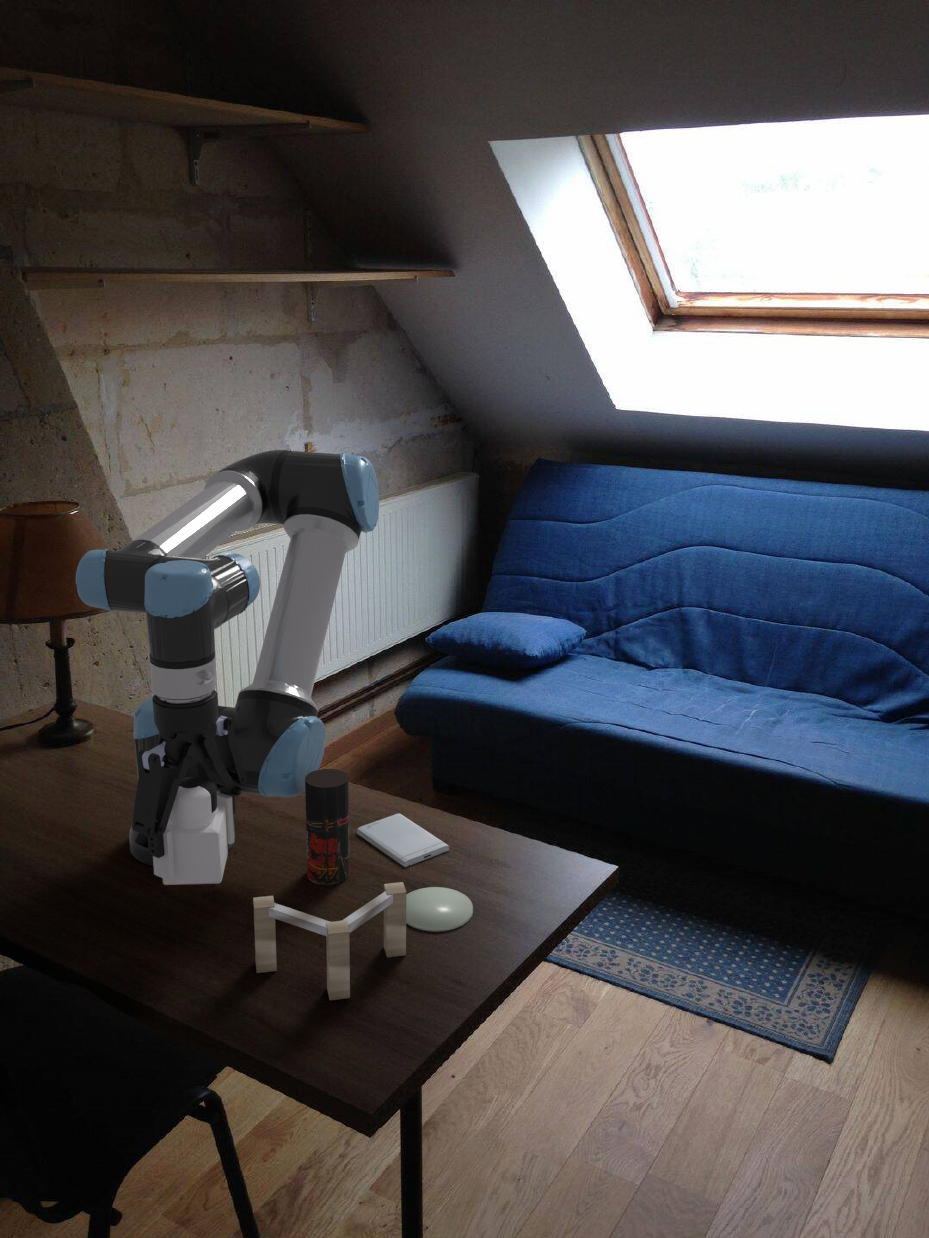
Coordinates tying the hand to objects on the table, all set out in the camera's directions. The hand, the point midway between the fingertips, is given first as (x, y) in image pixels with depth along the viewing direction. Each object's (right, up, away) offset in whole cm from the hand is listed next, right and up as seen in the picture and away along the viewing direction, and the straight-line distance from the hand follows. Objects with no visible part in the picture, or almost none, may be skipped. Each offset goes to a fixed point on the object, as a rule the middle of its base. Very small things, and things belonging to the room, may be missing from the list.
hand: (195, 857), depth 137 cm
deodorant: (+14, -6, +18) cm, 24 cm away
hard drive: (+24, -4, +28) cm, 37 cm away
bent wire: (+18, -13, -4) cm, 23 cm away
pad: (+30, -9, +10) cm, 33 cm away
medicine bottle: (0, -2, +1) cm, 2 cm away
